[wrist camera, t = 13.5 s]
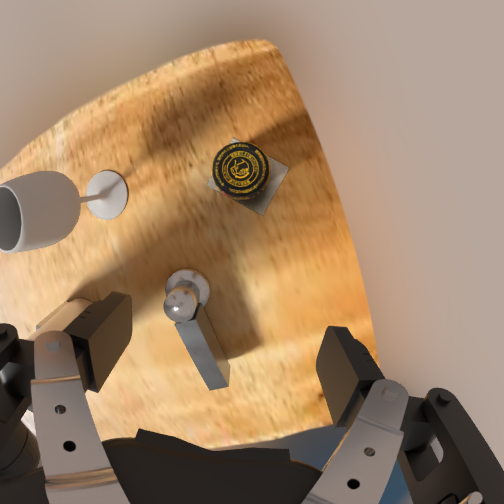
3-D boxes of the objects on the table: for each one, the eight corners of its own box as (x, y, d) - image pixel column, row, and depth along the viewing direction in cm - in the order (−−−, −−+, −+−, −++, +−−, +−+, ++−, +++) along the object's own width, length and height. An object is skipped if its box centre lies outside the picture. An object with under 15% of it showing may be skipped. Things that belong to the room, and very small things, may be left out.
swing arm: (168, 284, 38) (158, 298, 34) (194, 276, 38) (186, 290, 33) (210, 370, 43) (206, 391, 38) (233, 365, 42) (231, 386, 37)
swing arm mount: (166, 304, 41) (164, 308, 40) (168, 264, 39) (166, 267, 38) (207, 311, 41) (206, 315, 40) (212, 271, 40) (211, 274, 39)
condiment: (232, 137, 35) (226, 120, 23) (289, 168, 36) (308, 164, 25) (206, 185, 37) (188, 189, 25) (262, 215, 38) (269, 232, 26)
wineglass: (122, 162, 35) (20, 159, 15) (134, 213, 37) (40, 252, 17) (81, 178, 36) (-24, 191, 15) (92, 226, 38) (-6, 269, 17)
